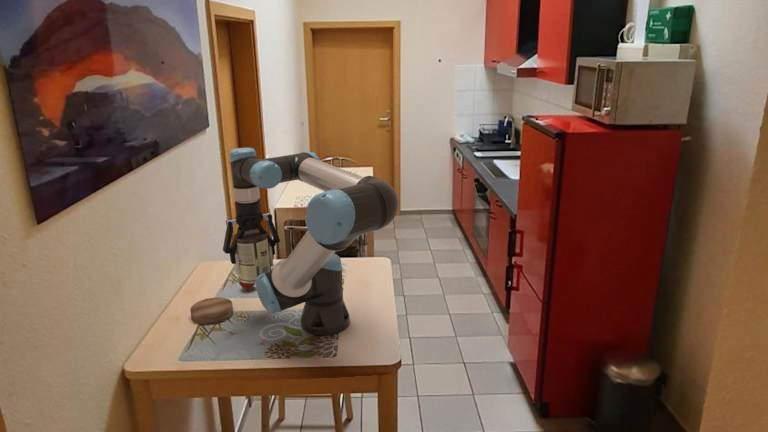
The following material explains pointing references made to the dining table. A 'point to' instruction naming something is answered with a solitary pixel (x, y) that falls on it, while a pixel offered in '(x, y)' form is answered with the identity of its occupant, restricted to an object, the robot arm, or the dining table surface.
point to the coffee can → (253, 255)
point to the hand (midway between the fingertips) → (254, 268)
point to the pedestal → (211, 310)
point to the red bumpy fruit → (247, 285)
